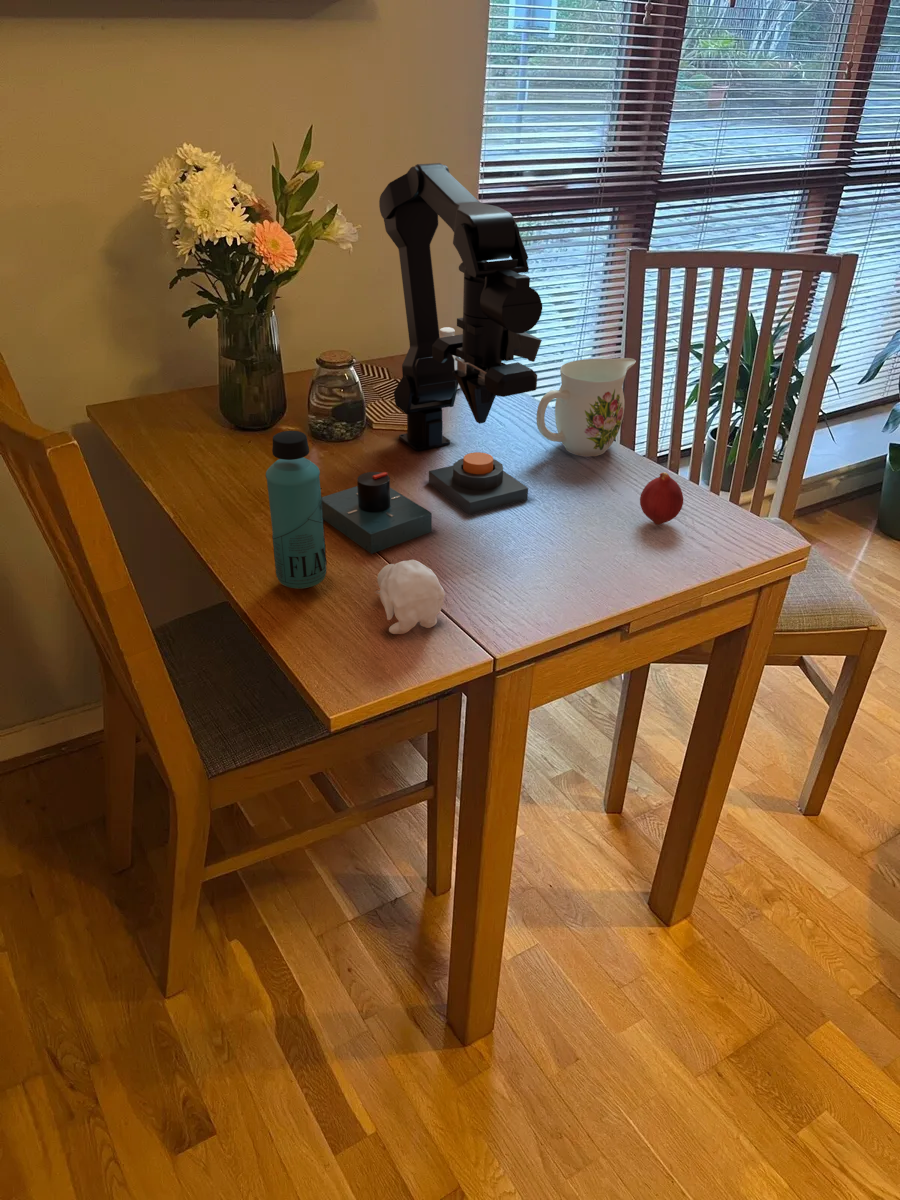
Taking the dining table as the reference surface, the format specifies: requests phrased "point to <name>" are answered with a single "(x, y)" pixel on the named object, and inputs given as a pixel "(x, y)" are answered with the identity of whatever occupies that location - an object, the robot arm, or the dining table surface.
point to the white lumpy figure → (410, 595)
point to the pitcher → (587, 405)
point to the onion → (661, 499)
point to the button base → (478, 487)
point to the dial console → (376, 520)
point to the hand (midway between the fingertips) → (480, 422)
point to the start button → (478, 463)
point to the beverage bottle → (296, 513)
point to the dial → (373, 491)
